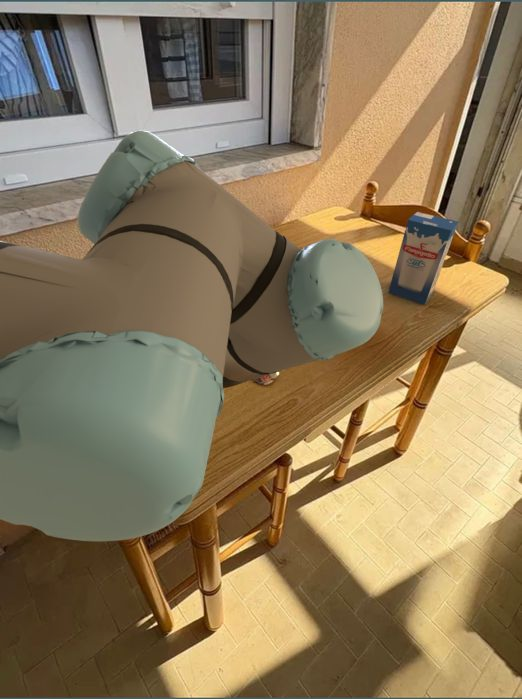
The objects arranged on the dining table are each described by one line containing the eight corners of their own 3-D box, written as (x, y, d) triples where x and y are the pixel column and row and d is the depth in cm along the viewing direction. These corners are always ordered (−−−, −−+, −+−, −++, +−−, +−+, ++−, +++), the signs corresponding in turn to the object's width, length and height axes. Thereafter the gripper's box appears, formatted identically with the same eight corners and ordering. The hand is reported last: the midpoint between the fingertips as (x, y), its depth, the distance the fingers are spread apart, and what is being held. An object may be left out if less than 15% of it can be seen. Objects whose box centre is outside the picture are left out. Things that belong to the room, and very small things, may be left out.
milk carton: (387, 292, 102) (407, 219, 89) (396, 282, 106) (416, 211, 93) (425, 305, 97) (451, 230, 84) (432, 294, 101) (459, 221, 88)
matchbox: (247, 376, 77) (247, 374, 77) (264, 363, 80) (264, 362, 80) (264, 388, 75) (264, 386, 74) (281, 374, 77) (281, 373, 77)
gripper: (193, 427, 32) (122, 437, 51) (303, 338, 42) (209, 374, 61) (144, 352, 31) (90, 391, 50) (268, 279, 41) (183, 334, 60)
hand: (155, 382), depth 55 cm, fingers closed on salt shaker, 3 cm apart
